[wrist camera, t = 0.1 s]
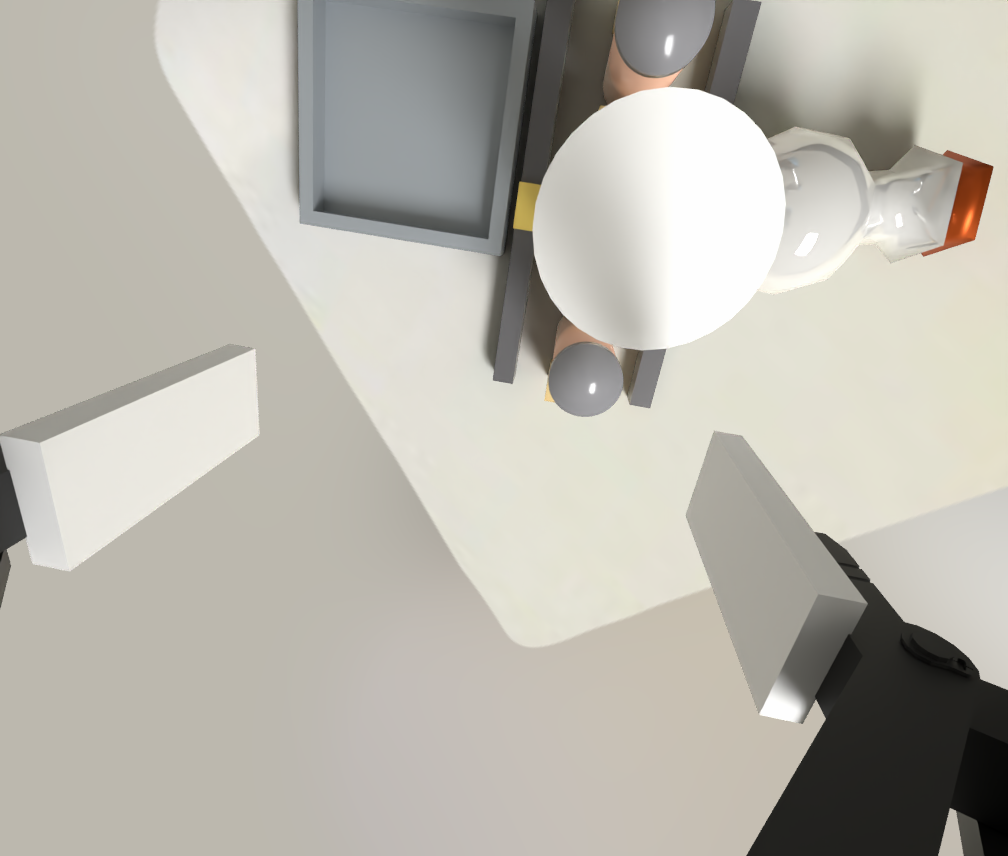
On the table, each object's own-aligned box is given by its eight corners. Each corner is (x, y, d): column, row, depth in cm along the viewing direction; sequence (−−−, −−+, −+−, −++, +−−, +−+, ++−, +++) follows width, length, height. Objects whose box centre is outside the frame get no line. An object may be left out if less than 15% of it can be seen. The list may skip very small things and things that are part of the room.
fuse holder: (551, -14, 33) (547, -58, 28) (750, 13, 33) (787, -27, 27) (495, 373, 44) (484, 396, 38) (646, 399, 43) (657, 427, 37)
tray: (315, -17, 35) (297, -33, 33) (537, 14, 34) (534, -1, 32) (315, 222, 41) (299, 223, 38) (504, 253, 40) (500, 256, 38)
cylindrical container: (536, 218, 39) (483, 229, 16) (611, 140, 36) (677, 18, 13) (600, 290, 40) (637, 394, 17) (676, 219, 38) (838, 231, 15)
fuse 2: (608, 41, 34) (628, -51, 22) (673, 50, 34) (728, -38, 22) (595, 114, 36) (606, 66, 24) (656, 123, 36) (699, 79, 24)
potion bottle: (674, 202, 39) (881, 187, 38) (693, 324, 36) (914, 309, 36) (720, 94, 30) (992, 73, 29) (749, 247, 27) (1045, 227, 27)
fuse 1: (560, 302, 41) (555, 339, 29) (613, 311, 41) (631, 352, 29) (550, 354, 43) (542, 409, 31) (602, 363, 42) (614, 422, 30)
